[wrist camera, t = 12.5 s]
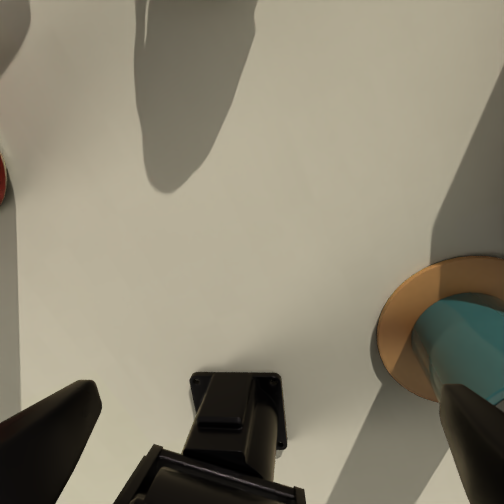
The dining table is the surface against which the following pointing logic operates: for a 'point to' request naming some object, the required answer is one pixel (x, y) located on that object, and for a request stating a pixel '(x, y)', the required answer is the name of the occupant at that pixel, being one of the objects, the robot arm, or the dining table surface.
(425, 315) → the cup
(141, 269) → the dining table surface
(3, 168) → the soda can
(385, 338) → the coaster
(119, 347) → the dining table surface
